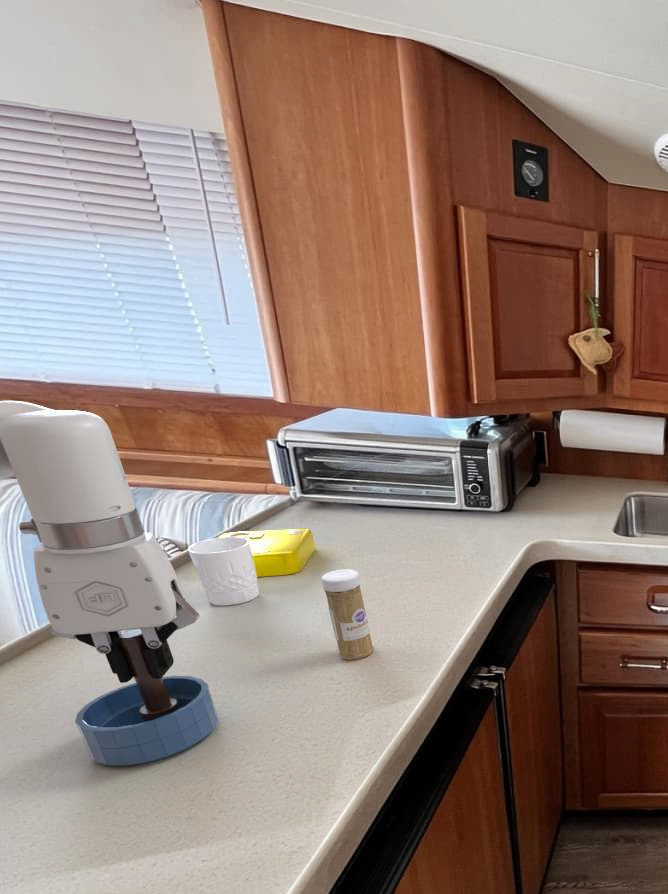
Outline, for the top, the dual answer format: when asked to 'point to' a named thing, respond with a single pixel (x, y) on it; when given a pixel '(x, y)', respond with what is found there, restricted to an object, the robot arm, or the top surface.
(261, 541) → the yellow box
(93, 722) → the bowl
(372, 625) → the top surface
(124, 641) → the muddler
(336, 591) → the sprinkles bottle
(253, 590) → the white cup
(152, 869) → the top surface
